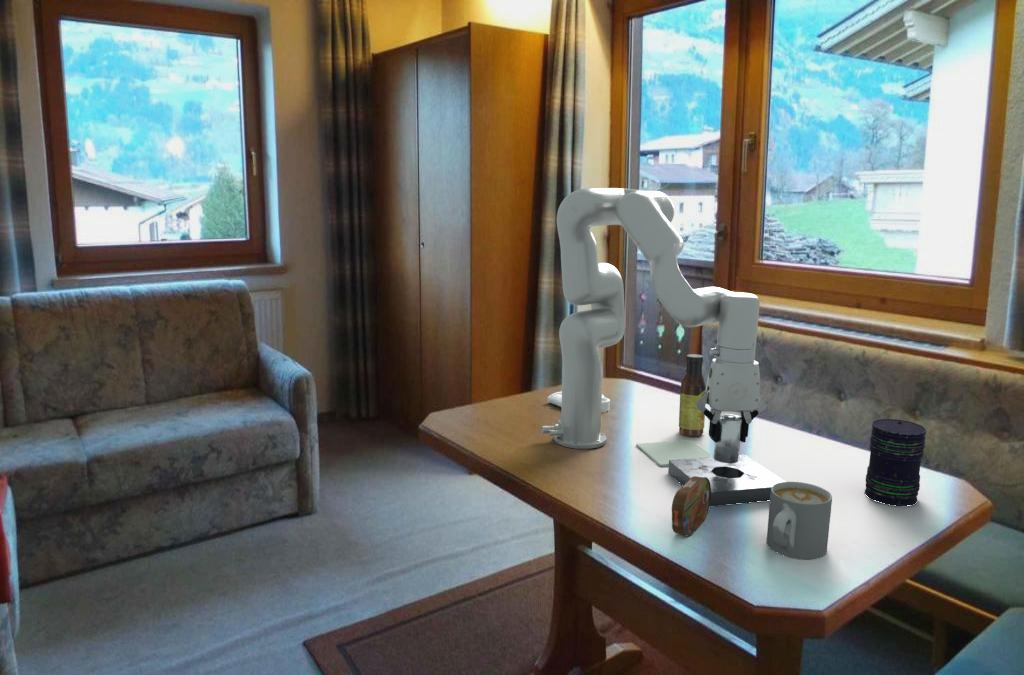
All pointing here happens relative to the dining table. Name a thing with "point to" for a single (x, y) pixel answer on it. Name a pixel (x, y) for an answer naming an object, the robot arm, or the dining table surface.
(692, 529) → the tin
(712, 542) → the dining table surface
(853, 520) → the dining table surface
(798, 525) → the coffee mug
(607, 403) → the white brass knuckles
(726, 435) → the aluminium plug
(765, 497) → the plate
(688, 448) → the sage mat
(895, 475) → the storage jar
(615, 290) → the robot arm
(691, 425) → the sauce bottle
